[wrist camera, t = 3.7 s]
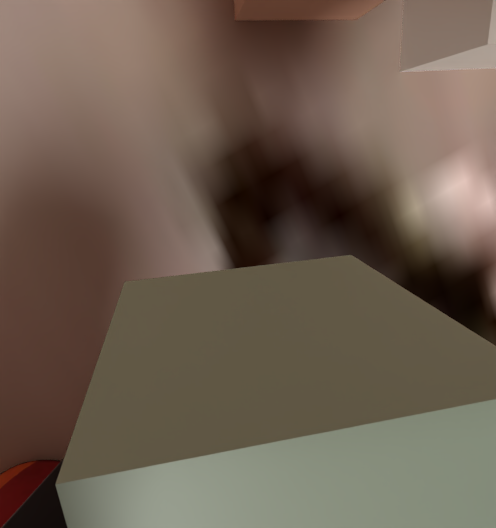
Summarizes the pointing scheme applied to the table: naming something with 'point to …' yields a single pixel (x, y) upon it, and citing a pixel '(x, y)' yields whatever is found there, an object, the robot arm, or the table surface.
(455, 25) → the cream cube
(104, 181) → the table surface
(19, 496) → the paper cup
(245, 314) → the sage cube
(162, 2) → the table surface
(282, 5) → the terracotta cube
